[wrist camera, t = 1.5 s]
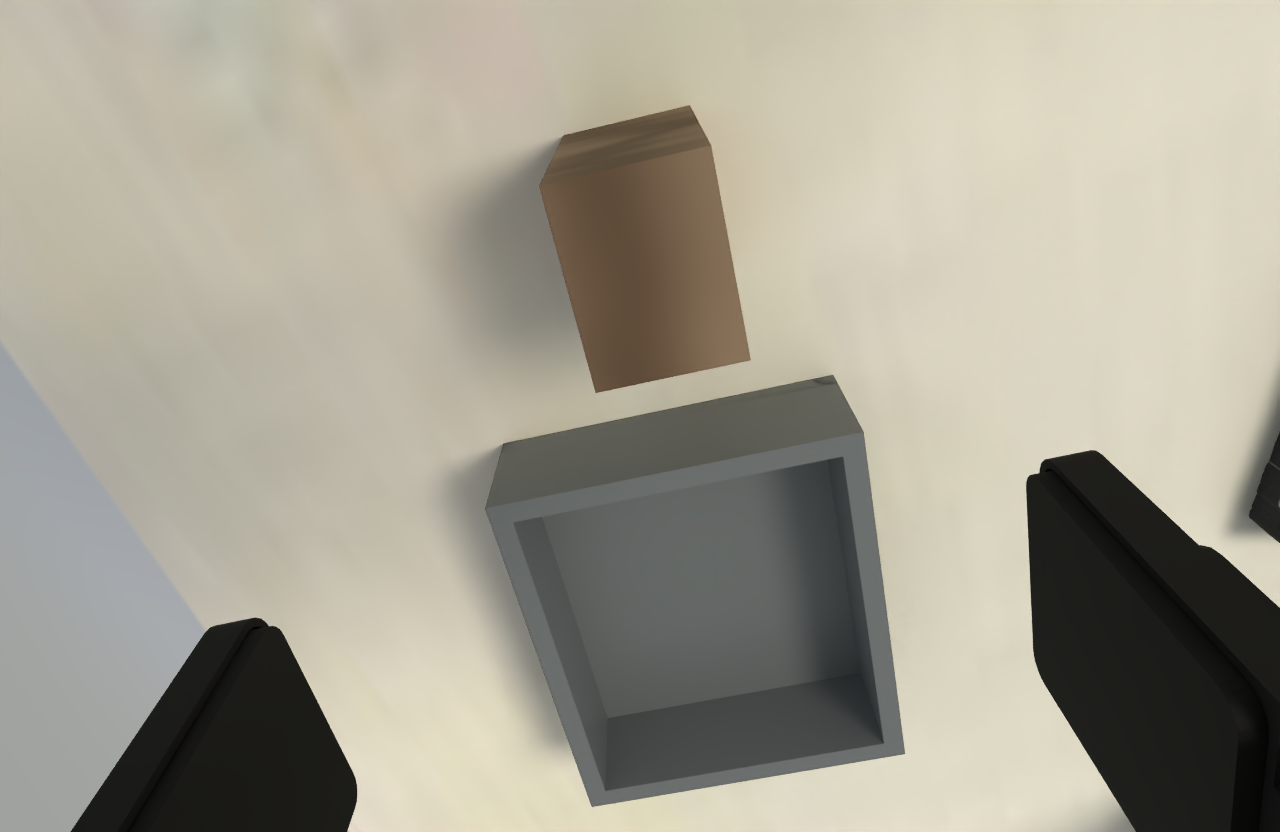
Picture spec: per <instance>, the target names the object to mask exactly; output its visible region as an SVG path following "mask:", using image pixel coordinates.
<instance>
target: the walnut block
mask: <svg viewBox="0 0 1280 832" xmlns="http://www.w3.org/2000/svg"><path fill="white" fill-rule="evenodd" d="M539 187H540V190H541V194H542V198H543V201H544V205H545V209H546V212H547V216H548V220H549V223H550V227H551V231H552V234H553V238H554V242H555V245H556V249H557V253H558V256H559V260H560V264H561V267H562V271H563V275H564V278H565V282H566V286H567V289H568V293H569V297H570V300H571V304H572V308H573V311H574V315H575V319H576V322H577V326H578V329H579V333H580V337H581V340H582V344H583V348H584V351H585V355H586V359H587V362H588V366H589V370H590V373H591V377H592V381H593V384H594V388H595V392H596V393H598V392H602V391H607V390H612V389H617V388H621V387H626V386H631V385H636V384H640V383H645V382H650V381H655V380H659V379H664V378H669V377H673V376H678V375H683V374H688V373H692V372H697V371H702V370H707V369H711V368H716V367H721V366H725V365H730V364H735V363H740V362H744V361H749V360H751V359H750V354H749V349H748V343H747V338H746V332H745V327H744V322H743V316H742V311H741V305H740V300H739V294H738V289H737V284H736V278H735V273H734V267H733V262H732V257H731V251H730V246H729V240H728V235H727V230H726V224H725V219H724V213H723V208H722V202H721V197H720V192H719V186H718V181H717V175H716V170H715V165H714V159H713V154H712V148H711V145H710V143H709V141H708V139H707V137H706V135H705V133H704V131H703V129H702V128H701V126H700V124H699V122H698V120H697V118H696V116H695V114H694V112H693V111H692V109H691V107H690V105H689V106H685V107H681V108H676V109H672V110H668V111H664V112H660V113H656V114H651V115H647V116H643V117H639V118H635V119H630V120H626V121H622V122H618V123H614V124H610V125H605V126H601V127H597V128H593V129H589V130H585V131H580V132H576V133H572V134H568V135H564V136H563V138H562V140H561V142H560V144H559V146H558V148H557V150H556V153H555V155H554V157H553V159H552V161H551V163H550V165H549V167H548V169H547V171H546V173H545V175H544V177H543V179H542V181H541V183H540V185H539Z"/></svg>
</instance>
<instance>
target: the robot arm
mask: <svg viewBox="0 0 1280 832" xmlns="http://www.w3.org/2000/svg"><path fill="white" fill-rule="evenodd" d="M1026 492H1027V515H1028V538H1029V561H1030V584H1031V607H1032V630H1033V651H1034V657H1035V662H1036V665H1037V668H1038V671H1039V674H1040V676H1041V678H1042V680H1043V682H1044V684H1045V686H1046V687H1047V689H1048V690H1049V692H1050V694H1051V695H1052V697H1053V698H1054V700H1055V702H1056V703H1057V705H1058V707H1059V708H1060V710H1061V711H1062V713H1063V715H1064V716H1065V718H1066V719H1067V721H1068V723H1069V724H1070V726H1071V727H1072V729H1073V731H1074V732H1075V734H1076V736H1077V737H1078V739H1079V740H1080V742H1081V744H1082V745H1083V747H1084V748H1085V750H1086V752H1087V753H1088V755H1089V756H1090V758H1091V760H1092V761H1093V763H1094V765H1095V766H1096V768H1097V769H1098V771H1099V773H1100V774H1101V776H1102V777H1103V779H1104V781H1105V782H1106V784H1107V785H1108V787H1109V789H1110V790H1111V792H1112V794H1113V795H1114V797H1115V798H1116V800H1117V802H1118V803H1119V805H1120V806H1121V808H1122V810H1123V811H1124V813H1125V815H1126V816H1127V818H1128V819H1129V821H1130V823H1131V824H1132V826H1133V827H1134V829H1135V831H1136V832H1280V608H1279V607H1278V606H1277V605H1276V604H1275V603H1274V602H1273V601H1271V600H1270V599H1269V598H1268V597H1267V596H1266V595H1265V594H1264V593H1263V592H1262V591H1261V590H1259V589H1258V588H1257V587H1256V586H1255V585H1254V584H1253V583H1252V582H1251V581H1250V580H1249V579H1247V578H1246V577H1245V576H1244V575H1243V574H1242V573H1241V572H1240V571H1239V570H1238V569H1237V568H1235V567H1234V566H1233V565H1232V564H1231V563H1230V562H1229V561H1228V560H1227V559H1226V558H1225V557H1223V556H1222V555H1221V554H1220V553H1218V552H1217V551H1215V550H1214V549H1212V548H1211V547H1206V546H1202V545H1198V544H1197V543H1196V542H1195V541H1194V540H1193V539H1192V538H1190V537H1189V536H1188V535H1187V534H1186V533H1185V532H1184V531H1183V530H1182V529H1181V528H1180V527H1179V526H1178V525H1177V524H1175V523H1174V522H1173V521H1172V520H1171V519H1170V518H1169V517H1168V516H1167V515H1166V514H1165V513H1164V512H1163V511H1162V510H1161V509H1159V508H1158V507H1157V506H1156V505H1155V504H1154V503H1153V502H1152V501H1151V500H1150V499H1149V498H1148V497H1147V496H1146V495H1144V494H1143V493H1142V492H1141V491H1140V490H1139V489H1138V488H1137V487H1136V486H1135V485H1134V484H1133V483H1132V482H1131V481H1130V480H1128V479H1127V478H1126V477H1125V476H1124V475H1123V474H1122V473H1121V472H1120V471H1119V470H1118V469H1117V468H1116V467H1115V466H1114V465H1112V464H1111V463H1110V462H1109V461H1108V460H1107V459H1106V458H1105V457H1104V456H1103V455H1102V454H1100V453H1099V452H1097V451H1094V450H1090V451H1085V452H1080V453H1075V454H1070V455H1065V456H1060V457H1055V458H1050V459H1045V460H1044V461H1043V462H1042V463H1041V467H1040V473H1038V474H1033V475H1030V476H1029V477H1028V479H1027V483H1026ZM356 802H357V784H356V779H355V776H354V774H353V772H352V770H351V768H350V766H349V764H348V762H347V760H346V758H345V756H344V754H343V752H342V750H341V748H340V746H339V744H338V742H337V740H336V738H335V736H334V734H333V732H332V730H331V728H330V726H329V724H328V722H327V720H326V718H325V716H324V714H323V712H322V710H321V708H320V706H319V704H318V702H317V700H316V698H315V696H314V694H313V692H312V690H311V688H310V686H309V684H308V682H307V680H306V678H305V676H304V674H303V672H302V670H301V668H300V666H299V664H298V662H297V660H296V658H295V656H294V655H293V653H292V651H291V649H290V647H289V645H288V643H287V641H286V639H285V637H284V635H283V633H282V632H281V630H280V629H278V628H277V627H275V626H268V624H267V623H266V622H265V621H263V620H262V619H260V618H251V619H246V620H241V621H236V622H231V623H226V624H221V625H216V626H213V627H211V628H209V629H208V630H207V631H206V632H205V633H204V635H203V637H202V638H201V639H200V641H199V642H198V644H197V645H196V647H195V648H194V650H193V651H192V653H191V654H190V656H189V657H188V659H187V660H186V662H185V663H184V665H183V666H182V668H181V669H180V671H179V672H178V674H177V675H176V676H175V678H174V679H173V681H172V683H171V684H170V685H169V687H168V688H167V690H166V691H165V693H164V694H163V696H162V697H161V699H160V700H159V702H158V703H157V705H156V706H155V708H154V709H153V711H152V712H151V713H150V715H149V716H148V718H147V720H146V721H145V722H144V724H143V725H142V727H141V728H140V730H139V731H138V733H137V734H136V736H135V737H134V739H133V740H132V742H131V743H130V745H129V746H128V748H127V749H126V751H125V752H124V754H123V755H122V756H121V758H120V759H119V761H118V762H117V764H116V765H115V767H114V768H113V770H112V771H111V773H110V774H109V776H108V777H107V779H106V780H105V782H104V783H103V785H102V786H101V788H100V789H99V791H98V792H97V794H96V795H95V797H94V798H93V799H92V801H91V803H90V804H89V805H88V807H87V808H86V810H85V811H84V813H83V814H82V816H81V817H80V819H79V820H78V822H77V823H76V825H75V826H74V828H73V829H72V831H71V832H347V830H348V827H349V824H350V821H351V818H352V815H353V812H354V809H355V806H356Z"/></svg>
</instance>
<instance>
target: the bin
mask: <svg viewBox="0 0 1280 832" xmlns="http://www.w3.org/2000/svg"><path fill="white" fill-rule="evenodd" d="M485 509H486V512H487V515H488V518H489V521H490V523H491V526H492V529H493V532H494V535H495V537H496V540H497V543H498V546H499V549H500V551H501V554H502V557H503V560H504V563H505V565H506V568H507V571H508V574H509V577H510V579H511V582H512V585H513V588H514V591H515V593H516V596H517V599H518V602H519V605H520V607H521V610H522V613H523V616H524V619H525V621H526V624H527V627H528V630H529V633H530V635H531V638H532V641H533V644H534V647H535V649H536V652H537V655H538V658H539V661H540V663H541V666H542V669H543V672H544V675H545V677H546V680H547V683H548V686H549V689H550V691H551V694H552V697H553V700H554V703H555V705H556V708H557V711H558V714H559V717H560V719H561V722H562V725H563V728H564V731H565V733H566V736H567V739H568V742H569V745H570V747H571V750H572V753H573V756H574V759H575V761H576V764H577V767H578V770H579V773H580V775H581V778H582V781H583V784H584V787H585V789H586V792H587V795H588V798H589V801H590V803H591V806H592V807H594V806H600V805H606V804H612V803H618V802H624V801H630V800H636V799H641V798H647V797H653V796H659V795H665V794H671V793H677V792H683V791H689V790H695V789H701V788H707V787H713V786H718V785H724V784H730V783H736V782H742V781H748V780H754V779H760V778H766V777H772V776H778V775H784V774H789V773H795V772H801V771H807V770H813V769H819V768H825V767H831V766H837V765H843V764H849V763H855V762H860V761H866V760H872V759H878V758H884V757H890V756H896V755H902V754H905V750H904V742H903V734H902V727H901V719H900V711H899V703H898V696H897V688H896V680H895V672H894V665H893V657H892V649H891V641H890V634H889V626H888V618H887V610H886V602H885V595H884V587H883V579H882V571H881V564H880V556H879V548H878V540H877V533H876V525H875V517H874V509H873V502H872V494H871V486H870V478H869V471H868V463H867V455H866V447H865V439H864V432H863V430H862V428H861V426H860V424H859V423H858V421H857V419H856V417H855V415H854V413H853V411H852V409H851V408H850V406H849V404H848V402H847V400H846V398H845V396H844V394H843V393H842V391H841V389H840V387H839V385H838V383H837V381H836V379H835V378H834V376H833V375H831V376H826V377H822V378H817V379H812V380H807V381H802V382H798V383H793V384H788V385H783V386H778V387H774V388H769V389H764V390H759V391H755V392H750V393H745V394H740V395H735V396H731V397H726V398H721V399H716V400H711V401H707V402H702V403H697V404H692V405H687V406H683V407H678V408H673V409H668V410H663V411H659V412H654V413H649V414H644V415H640V416H635V417H630V418H625V419H620V420H616V421H611V422H606V423H601V424H596V425H592V426H587V427H582V428H577V429H572V430H568V431H563V432H558V433H553V434H548V435H544V436H539V437H534V438H529V439H524V440H520V441H515V442H510V443H505V444H503V448H502V451H501V455H500V458H499V462H498V465H497V469H496V472H495V476H494V479H493V483H492V486H491V490H490V493H489V497H488V500H487V504H486V507H485Z"/></svg>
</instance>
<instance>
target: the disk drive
mask: <svg viewBox="0 0 1280 832" xmlns="http://www.w3.org/2000/svg"><path fill="white" fill-rule="evenodd" d="M1249 517H1250V519H1252V520H1253V521H1254V522H1255V523H1257V524H1258V525H1259V526H1260V527H1261V528H1262V529H1263V530H1264V531H1266V532H1267V533H1268V534H1269V535H1270V536H1272V537H1273V538H1274V539H1275V540H1277V541H1278V542H1279V543H1280V433H1279V435H1278V438H1277V440H1276V443H1275V445H1274V448H1273V451H1272V454H1271V457H1270V460H1269V462H1268V463H1267V465H1266V467H1265V471H1264V473H1263V474H1262V478H1261V482H1260V484H1259V487H1258V489H1257V495H1256V498H1255V500H1254V502H1253V505H1252V509H1251V511H1250V513H1249Z"/></svg>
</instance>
